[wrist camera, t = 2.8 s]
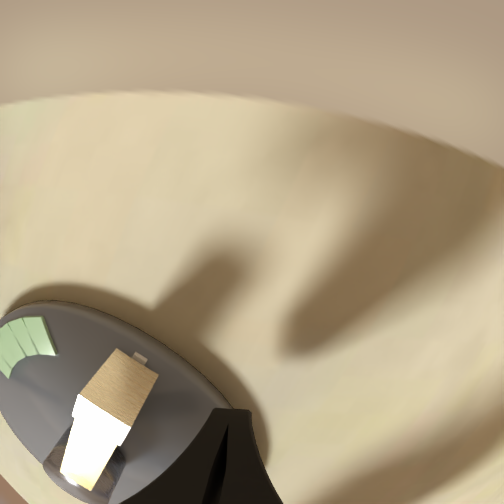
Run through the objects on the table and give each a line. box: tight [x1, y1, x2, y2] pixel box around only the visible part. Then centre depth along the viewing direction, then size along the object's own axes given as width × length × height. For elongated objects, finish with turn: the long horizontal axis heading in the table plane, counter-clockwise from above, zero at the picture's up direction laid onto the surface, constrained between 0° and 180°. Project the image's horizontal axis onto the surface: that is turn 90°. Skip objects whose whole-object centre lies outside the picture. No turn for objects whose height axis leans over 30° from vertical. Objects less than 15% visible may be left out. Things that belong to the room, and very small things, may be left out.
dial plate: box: [0, 300, 233, 504], centre depth 14 cm, size 18×18×1 cm
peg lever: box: [43, 348, 159, 504], centre depth 11 cm, size 11×4×3 cm, turn 149°
